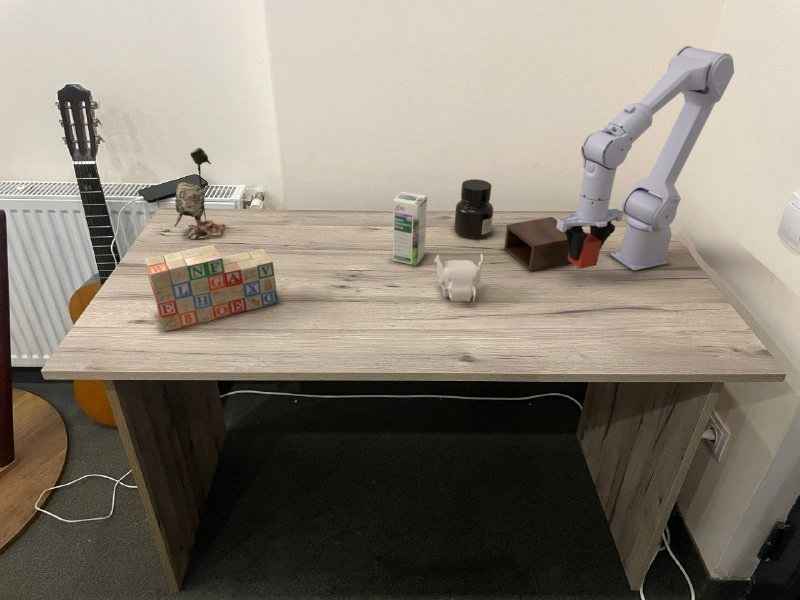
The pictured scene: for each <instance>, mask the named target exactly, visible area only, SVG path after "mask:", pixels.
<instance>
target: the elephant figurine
mask: <svg viewBox="0 0 800 600" xmlns="http://www.w3.org/2000/svg"><path fill="white" fill-rule="evenodd" d="M440 259H441V258H440V254H439V253H438V254H436V257H435V258H434V260H433V262H434V263H435V264H436V274H437V277H438V284H439V285H441V291H442V296H443V297H444V298H450V300H451V302H471V298H473V301H472V302H475V299H476V293H477V284H478V285H480V284H481V272H482V268H483V267H482V266H483V260H484V256H483V253H481V254H480V261H479V262H478V264H475V263H474V261H472V260H468V259H453V260H452V259H451V260H450V259H449V260H446V261H444V262H443V263H442V261H441V260H440Z"/></svg>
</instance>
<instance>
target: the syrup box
mask: <svg viewBox="0 0 800 600" xmlns="http://www.w3.org/2000/svg"><path fill="white" fill-rule="evenodd" d="M392 207H393V209H392V212H393V213H392V220H393V221H392V262H398V263H401V264H406V265H412V266H417V265H418V264H419V263H420V261H421V260H422V258H423V257H424V256H425V253H426V251H425V250H426V229H427V211H428V209H427V207H428V195H425V194H417V193H412V192H407V191H401V192H400V193H399V194H398V195H397V196H396V197H395V198H394V199H393V206H392Z"/></svg>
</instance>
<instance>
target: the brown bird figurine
mask: <svg viewBox="0 0 800 600" xmlns="http://www.w3.org/2000/svg"><path fill="white" fill-rule="evenodd" d="M190 157H191V158H192V161H193V162H194V163H195V165H197V170H198V180H199V184H195V183H194V184H192V183H187V182H180V180H178V181H176V182H178V183H177V185H176V189H175V191H176V193H175V200H174V202H175V210H176V212H177V213H178V214H179V215H178V216H177V218H176V221H175V223H174V224H173V227H175V228H176V227H177V226H178V224H179V223H180V221H181V220H182V218H183V216H186V217H191V218H194V220H195V222H196V225H193V226H189V228H188V232H187V235H186V238H187V239H191V240H192V239H202V238H203V239H204V238H206V237H208V236H213V235H214V236H215V235H216V236H221V235H222V234H223V231H224V230H225V227H226V226H227V225H226V224H224V223H221V224H217V223H214V221H213V220H212V219H211V220H210V219H208V220H207V217H206V216H207V215H206V208H205V198H206V191H205V189H204V187H203V184H202V177H201V170H202V169H201V165H203V164H206V163H208V164H209V165H212V162H210V160H209V155H208V154H207V153H206V151H205V150H204V149H203V148H201V147H196V148H195V149H194V150H192V151H191V152H190ZM202 216H203V217H204V220H202Z"/></svg>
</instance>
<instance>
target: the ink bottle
mask: <svg viewBox="0 0 800 600" xmlns="http://www.w3.org/2000/svg"><path fill="white" fill-rule="evenodd" d="M460 190H461V192H460V199H461V200H459V201H458V202H457V204H456V205H455V211H454V212H455V213H454V214H455V215H454V225H453V226H454V228H453V229H454V232H455V233H456V235H458V236H460V237H461V238H466V239H474V240H475V239H476V240H477V239H485V238H486V237H488V236H490V235H491V232H492V227H493V217H494V207H493V204H492V203H491V202H490V201H491V195H492V184H491V182H489V181H486V180H483V179H477V178H475V179H466V180H464V181H462V183H461V189H460Z"/></svg>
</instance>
